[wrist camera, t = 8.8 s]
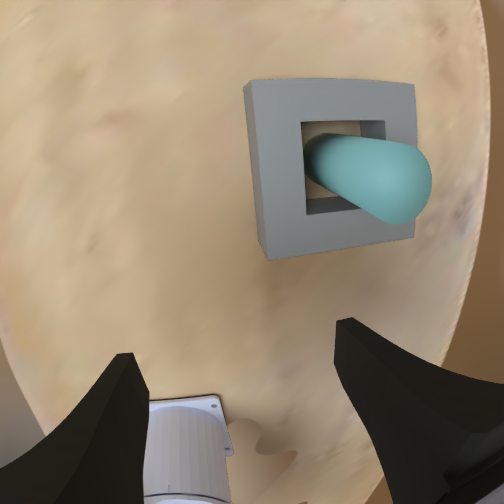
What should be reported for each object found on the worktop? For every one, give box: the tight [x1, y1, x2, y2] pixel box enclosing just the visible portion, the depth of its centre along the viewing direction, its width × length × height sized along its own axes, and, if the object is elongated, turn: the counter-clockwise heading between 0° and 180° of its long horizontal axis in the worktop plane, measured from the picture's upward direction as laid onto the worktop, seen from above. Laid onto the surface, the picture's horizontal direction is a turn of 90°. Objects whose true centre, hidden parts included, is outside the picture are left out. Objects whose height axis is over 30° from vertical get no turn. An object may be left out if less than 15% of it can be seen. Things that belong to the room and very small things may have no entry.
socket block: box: [243, 78, 417, 261], centre depth 17 cm, size 9×9×3 cm
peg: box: [303, 133, 432, 224], centre depth 15 cm, size 3×3×8 cm
